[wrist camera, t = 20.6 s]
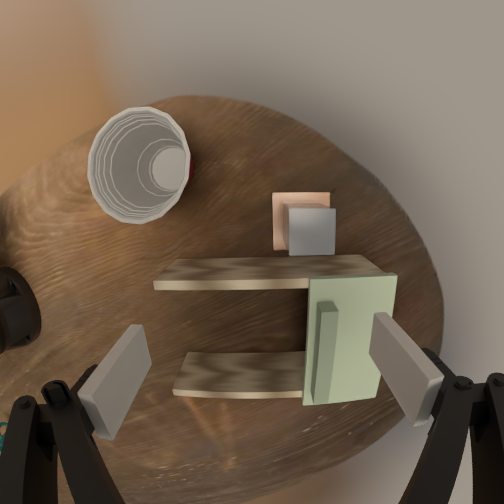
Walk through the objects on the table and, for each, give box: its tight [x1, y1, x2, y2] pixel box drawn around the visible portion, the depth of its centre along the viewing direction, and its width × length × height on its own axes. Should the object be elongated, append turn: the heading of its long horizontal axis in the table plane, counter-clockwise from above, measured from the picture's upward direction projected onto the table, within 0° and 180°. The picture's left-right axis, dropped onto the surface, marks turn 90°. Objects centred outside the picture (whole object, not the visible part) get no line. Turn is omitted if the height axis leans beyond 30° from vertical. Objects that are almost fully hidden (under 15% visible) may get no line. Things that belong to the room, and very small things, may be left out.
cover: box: [302, 273, 397, 405], centre depth 28 cm, size 9×16×3 cm, turn 2°
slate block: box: [283, 203, 336, 256], centre depth 32 cm, size 4×4×8 cm
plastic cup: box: [88, 107, 194, 224], centre depth 29 cm, size 11×11×12 cm
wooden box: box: [153, 255, 385, 398], centre depth 35 cm, size 24×15×9 cm, turn 92°
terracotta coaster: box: [272, 192, 330, 250], centre depth 36 cm, size 7×7×1 cm
